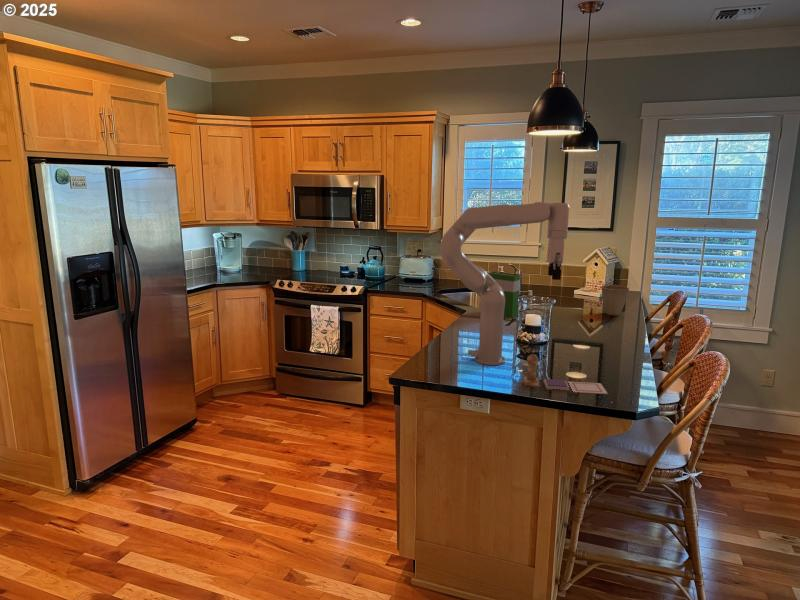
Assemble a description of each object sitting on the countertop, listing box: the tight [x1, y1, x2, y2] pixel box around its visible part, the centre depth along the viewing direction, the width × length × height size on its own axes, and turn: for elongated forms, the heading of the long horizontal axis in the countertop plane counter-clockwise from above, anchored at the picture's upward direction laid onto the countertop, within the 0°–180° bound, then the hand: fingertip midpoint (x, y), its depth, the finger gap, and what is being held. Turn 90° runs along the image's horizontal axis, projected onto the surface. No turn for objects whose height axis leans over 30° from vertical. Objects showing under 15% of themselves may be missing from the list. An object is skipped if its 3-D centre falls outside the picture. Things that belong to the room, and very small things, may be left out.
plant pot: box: [601, 284, 630, 316], centre depth 306 cm, size 15×15×16 cm
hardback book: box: [487, 271, 521, 319], centre depth 300 cm, size 18×7×24 cm, turn 52°
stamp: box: [523, 353, 540, 388], centre depth 193 cm, size 5×4×12 cm
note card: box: [567, 381, 608, 395], centre depth 192 cm, size 12×10×1 cm
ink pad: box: [543, 378, 570, 391], centre depth 193 cm, size 8×7×2 cm
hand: (554, 277), depth 211 cm, fingers open, 9 cm apart
